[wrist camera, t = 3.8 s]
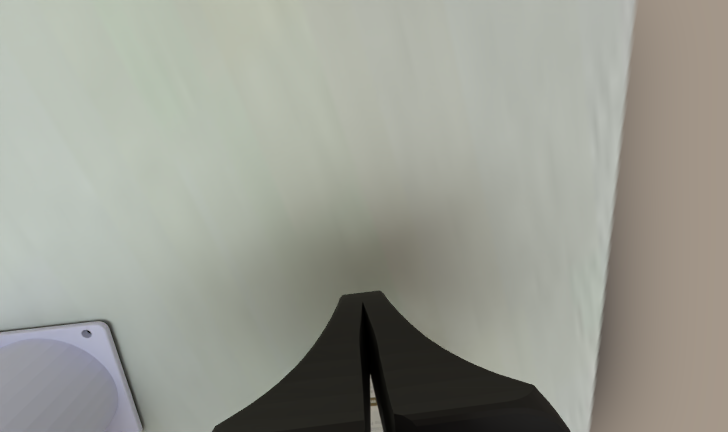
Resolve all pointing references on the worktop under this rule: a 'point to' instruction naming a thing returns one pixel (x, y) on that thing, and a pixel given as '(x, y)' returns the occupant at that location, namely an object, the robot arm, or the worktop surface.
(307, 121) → the worktop surface
